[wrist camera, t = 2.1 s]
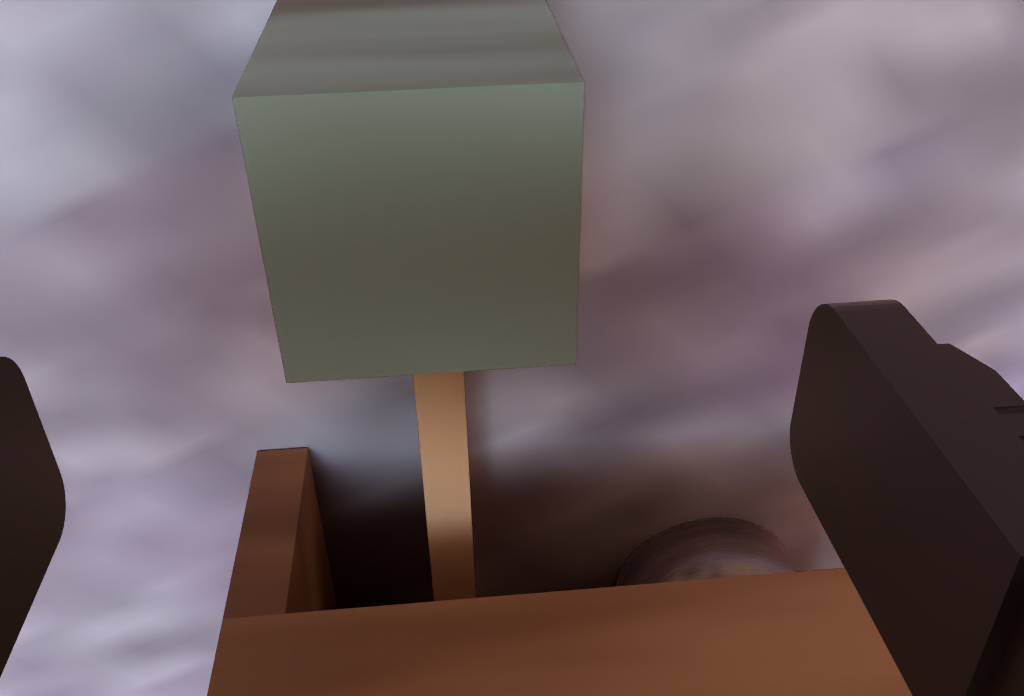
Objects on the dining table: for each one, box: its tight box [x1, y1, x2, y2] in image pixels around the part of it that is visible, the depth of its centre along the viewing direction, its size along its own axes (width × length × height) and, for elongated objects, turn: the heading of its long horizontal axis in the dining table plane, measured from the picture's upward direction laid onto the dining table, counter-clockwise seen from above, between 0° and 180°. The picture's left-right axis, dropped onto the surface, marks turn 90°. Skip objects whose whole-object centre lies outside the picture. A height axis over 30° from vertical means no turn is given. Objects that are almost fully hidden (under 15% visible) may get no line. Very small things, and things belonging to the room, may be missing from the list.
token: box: [616, 518, 795, 586], centre depth 25 cm, size 5×5×2 cm
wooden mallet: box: [232, 0, 585, 601], centre depth 20 cm, size 22×4×7 cm, turn 1°
